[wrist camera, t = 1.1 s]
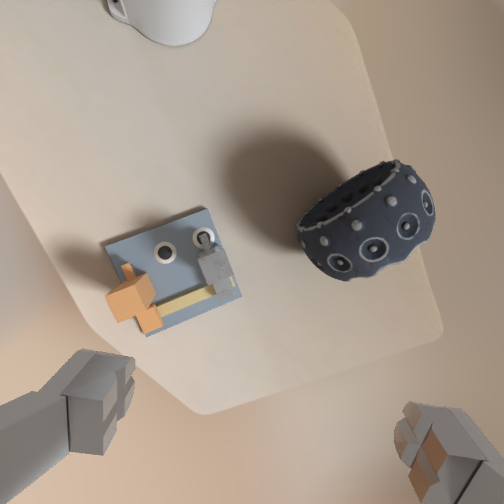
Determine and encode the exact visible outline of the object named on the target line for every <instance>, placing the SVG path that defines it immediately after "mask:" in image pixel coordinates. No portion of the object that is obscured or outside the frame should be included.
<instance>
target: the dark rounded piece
mask: <svg viewBox="0 0 504 504" xmlns="http://www.w3.org/2000/svg"><path fill="white" fill-rule="evenodd" d="M434 225H435V208H434V203H433V199H432V197H431V194H430V192H429V190H428V188H427V186H426V185H425V183H424V182H423V181H422V180H421V179H420V177H419V176H418V175H417V174H416V172H415V169H414V168H413V167H412V166H410V165H404V164H402V163H400V161H399V160H397V159H396V160H393V161H388V162H384V161H382V162H380V163H379V164H378V165H376V166H374V167H371V168H369V169H367V170H365V171H363V170H362V171H360V173H359V174H358V175H356V176H354V177H352V178H351V179H349V180H347V181H346V182H344V183H343V184H339V185H338V186H337V188H335V189H334V190H332V191H331V192H330V193H328V194H327V195H326V196H324V197H323V198H320V199H318V202H317V203H316V204H315V205H314V206H312V207H311V208H310V209H309V210H308V211H307V212H304V213H303V217H302V218H301V219H300V221H299V222H298V223H297V224H296V227H297V228H298V236H297V237H298V240H299V241H300V242H301V245H302V247H303V249H304V251H305V253H306V255H307V256H308V258H309V259H310V260H311V262H312V263H313V264H314V265H315V266H316V267H317V268H318V269H320V270H321V271H322V272H324V273H325V274H327V275H328V276H330V277H333V278H335V279H338V280H342V281H351V280H352V279H353V278H370V277H373V276H376V275H377V274H378V273H379V272H380V271H381V270H382V269H384V268H385V267H387V266H390V265H395V264H400V263H402V262H404V261H405V260H407V259H408V257H409V256H410V254H411V253H412V252H413V250H414V249H415V248H416V247H417V246H419V245H421V244H425V243H426V242H427V241H428V239H429V237H430V235H431V232H432V229H433V226H434Z"/></svg>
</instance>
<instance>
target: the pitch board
mask: <svg viewBox="0 0 504 504" xmlns="http://www.w3.org/2000/svg"><path fill="white" fill-rule="evenodd" d="M205 233H206V235H207V237H208V240H209V242H210V245H211V247H213V246H216V245H218V244H219V245H220V246H221V247H222V244H221V242H220V239H219V236H218V234H217V231H216V229H215V226H214V224H213V221H212V219H211V216H210V214H209V211H208V209H205V210H202V211H200V212H197V213H194V214H192V215H189V216H186V217H183V218H181V219H178V220H175V221H173V222H170V223H167V224H164V225H162V226H159V227H156V228H154V229H151V230H148V231H145V232H143V233H140V234H137V235H135V236H132V237H129V238H126V239H124V240H121V241H118V242H116V243H113V244H110V245H107V246H105V249H106V251H107V253H108V255H109V257H110V259H111V261H112V264H113V266H114V268H115V270H116V272H117V274H118V277H119V279H120V281H121V283H123V282H124V281H127V278H126V276H125V274H124V272H123V269H122V267H121V266H122V265H124V264H127V263H129V262H130V264H132V265H133V270H134V273H135V275H136V277H137V276H139V275H142V274H144V273H147V274H148V276H149V278H150V281H151V283H152V285H153V287H154V290H155V292H156V295H155V297H154V299H153V301H152V302H151V304H150V306H151V305H153V304H155V305H156V307H157V309H158V312H159V314H160V316H161V318H162V320H163V326H162V327H160V328H158V329H156V330H153V331H151V332H149V333H146V334H145V335H146V337H148V336H151V335H153V334H155V333H158V332H160V331H162V330H165V329H167V328H169V327H172V326H174V325H176V324H179V323H181V322H183V321H186V320H188V319H191V318H193V317H195V316H198V315H200V314H202V313H205V312H207V311H209V310H212V309H214V308H216V307H219V306H221V305H223V304H226V303H228V302H231V301H233V300H235V299H238V298H240V297H242V295H241V293H240V290H239V288H238V285H237V282H236V280H235V277H234V275H232V276H230V277H229V278H230V280H231V283H232V285H233V288H234V290H235V293H236V295H235V296H232V297H230V298H228V299H225V300H223V301H221V302H220V301H219V299H218V296H217V294H216V291H215V289H214V286H213V284H210V285H208V284H207V282H206V279H205V277H204V274H203V272H202V269H201V267H200V265H199V262H198V260H197V253H198V252H200V251H203V250H205V249H204V247H203V244H202V242H201V240H200V237H199V236H200V235H202V234H205ZM222 248H223V247H222Z"/></svg>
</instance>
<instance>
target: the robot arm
mask: <svg viewBox="0 0 504 504" xmlns="http://www.w3.org/2000/svg"><path fill="white" fill-rule="evenodd" d="M114 1H115V0H107V2H108V7H109V11H110V14H111V15H112V17H113V18H115V19H116V20H119V21H121V22H124V23H127V24H130V25H132V26H133V27H135V28H136V29H137V30H138V31H140V32H141V33H142V34H143V35H145V36H146V37H148V38H149V39H151V40H153V41H155V42H158V43H161V44H164V45H171V46H178V45H184V44H187V43H190V42H192V41H194V40H196V39H197V38H198V37H200V36H201V35H202V34H203V33H204V31H205V30H206V28H207V27H208V25H209V23H210V20H211V17H212V12H213V8H214V4H215V2H216V1H217V0H117V1H118V2H117V3H115V2H114ZM134 370H135V359H134V358H133V357H128V356H122V355H116V354H111V353H106V352H98V351H92V350H87V349H81V350H78V351H77V352H76V353H75V354H74V355H73V356H72V357H71V358H70V359H69V360H68V361H67V362H66V363H65V364H64V365H63V366H62V368H60V369H59V371H58V372H57V373H56V374H55V375H54V376H53V377H52V378H51V379H50V380H49V381H48V382H47V383H46V384H45V385H44V386H43V387H42V388H41V389H40V390H39V391H38V392H34V391H31V392H29V393H27V394H25V395H23V396H21V397H18V398H16V399H14V400H12V401H10V402H8V403H6V404H3V405H1V406H0V504H6V503H7V502H9V501H10V500H11V499H13V498H14V497H15V496H16V495H18V494H19V493H20V492H21V491H23V490H24V489H25V488H26V487H27V486H29V485H30V484H31V483H33V482H34V481H35V480H37V479H38V478H39V477H40V476H42V475H43V474H44V473H45V472H47V471H48V470H49V469H50V468H52V467H53V466H54V465H56V464H57V463H58V462H59V461H61V460H62V459H63V458H64V457H65V456H67V455H68V454H69V452H78V453H86V454H94V455H104V453H105V451H106V449H107V448H108V446H109V444H110V442H111V440H112V438H113V436H114V434H115V433H116V424H117V421H118V420H119V419H121V418H122V417H124V416H125V414H126V412H127V410H128V408H129V405H130V403H131V399H132V397H133V392H134V385H135V381H134V379H133V378H132V376H131V375H132V373H133V372H134ZM403 414H404V416H405V418H403V419H402V420H400V421H399V422H397V425H396V427H395V430H394V443H395V447H396V451H397V452H398V455H399V457H400V459H401V460H402V461H403V462H404V463H405V464H406V465H407V466H408V467H409V473H408V477H409V479H410V481H411V483H412V485H413V488H414V490H415V492H416V494H417V496H418V498H419V500H420V503H421V504H504V458H503V457H502V456H501V455H500V454H499V452H498V451H497V450H496V448H495V447H494V446H493V445H492V444H491V442H490V441H489V440H488V439H487V437H486V436H485V435H484V434H483V432H482V431H481V430H480V429H479V427H478V426H477V425H476V424H475V422H474V421H473V420H472V419H471V418H470V416H469V415H468V414H467V413H466V412H465V411H463V410H462V409H459V408H452V407H445V406H443V407H442V406H436V405H430V404H423V403H416V402H408V403H407V404H406V405H405V407H404V409H403Z"/></svg>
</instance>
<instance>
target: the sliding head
mask: <svg viewBox="0 0 504 504" xmlns="http://www.w3.org/2000/svg"><path fill="white" fill-rule="evenodd" d="M121 267H122V269H123V272H124V274H125V276H126V278H127V281H124V282H123V283H121V284H120V285H119V286H117V287H116V288H115V289H114V290H112V291H111V292H110V293H108V294H107V295H106V296H105V298H106V300H107V302H108V304H109V306H110V309H111V311H112V313H113V315H114V317H115V319H116V321H117V323H119V322H121V321H124V320H126V319H129V318H131V317H134V316H136V317H137V320H138V322H139V324H140V326H141V328H142V330H143V333H144V334H146V333H149V332H151V331H153V330H156V329H158V328H160V327H162V326H163V320H162V318H161V316H160V314H159V312H158V309H157V307H156V305H155V304H153V305H151V306H150V304H151V302H152V301H153V299H154V297H155V295H156V292H155V290H154V287H153V285H152V283H151V281H150V278H149V276H148V274H147V273H144V274H142V275H139V276H137V277H136V275H135V273H134V270H133V265H132V264H130V262H129V263H127V264H124V265H122V266H121Z"/></svg>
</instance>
